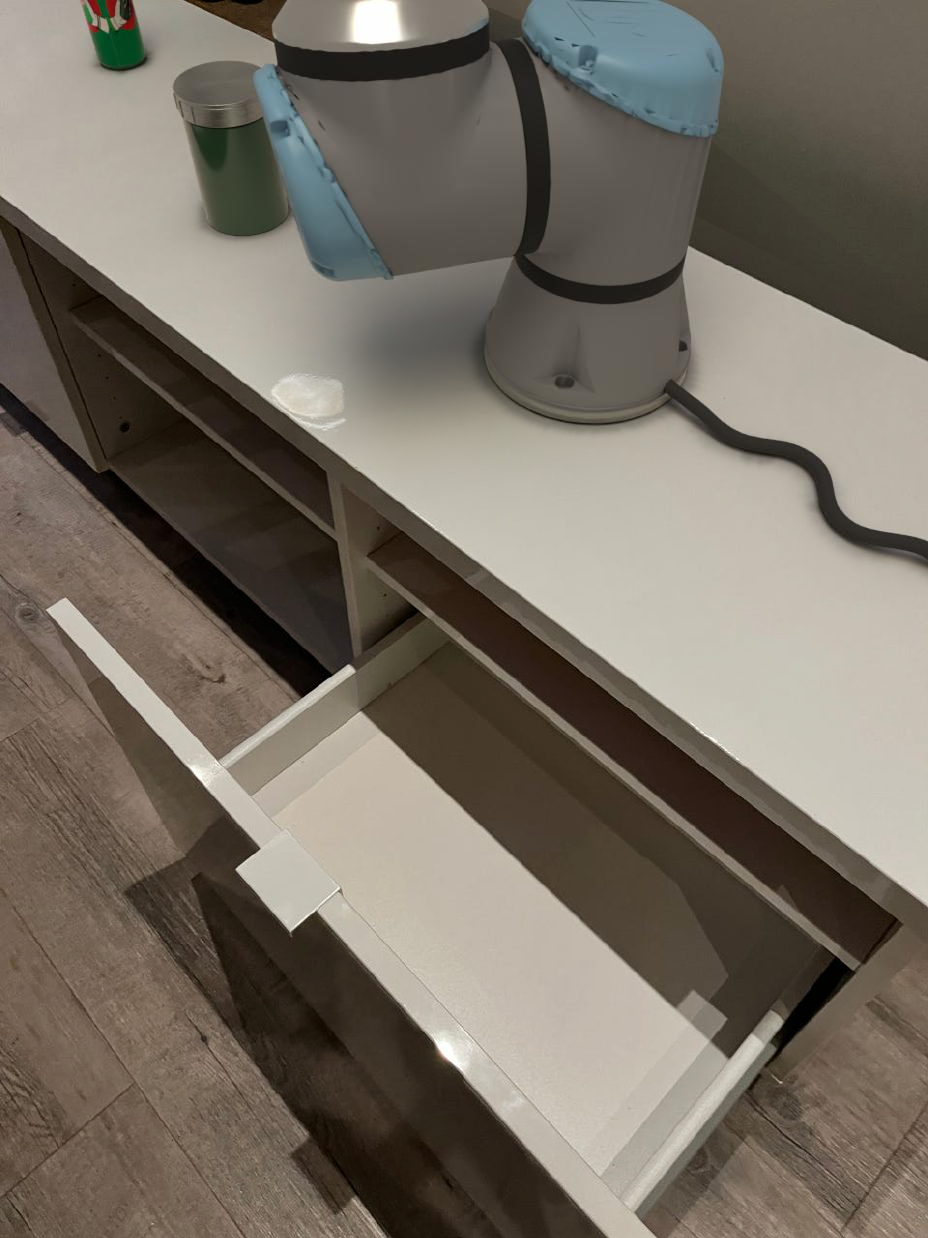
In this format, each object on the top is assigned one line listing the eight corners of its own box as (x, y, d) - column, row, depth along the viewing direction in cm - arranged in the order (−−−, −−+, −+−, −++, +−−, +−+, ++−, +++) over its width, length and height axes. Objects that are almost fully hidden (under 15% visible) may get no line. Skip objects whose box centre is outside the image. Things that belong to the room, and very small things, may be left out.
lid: (286, 115, 73) (283, 92, 71) (192, 136, 71) (187, 113, 70) (256, 75, 77) (252, 53, 75) (167, 93, 75) (161, 71, 74)
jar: (300, 223, 80) (280, 97, 72) (220, 243, 78) (190, 116, 70) (273, 183, 84) (252, 59, 76) (196, 202, 82) (165, 77, 74)
